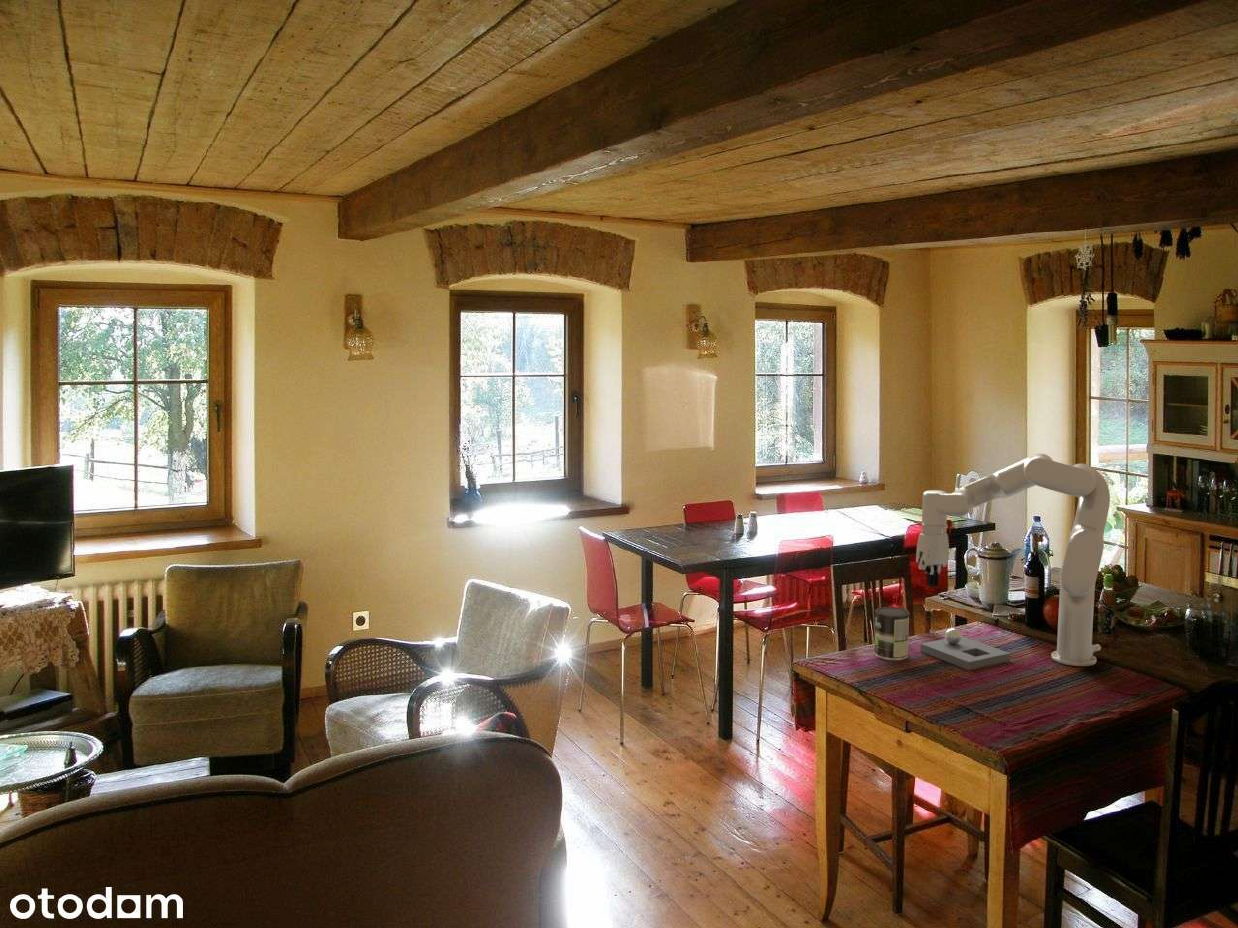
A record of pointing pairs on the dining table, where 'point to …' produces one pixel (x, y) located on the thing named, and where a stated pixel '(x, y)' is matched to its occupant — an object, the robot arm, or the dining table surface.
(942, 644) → the hole board
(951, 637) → the steel ball
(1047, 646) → the dining table surface
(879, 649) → the coffee can
